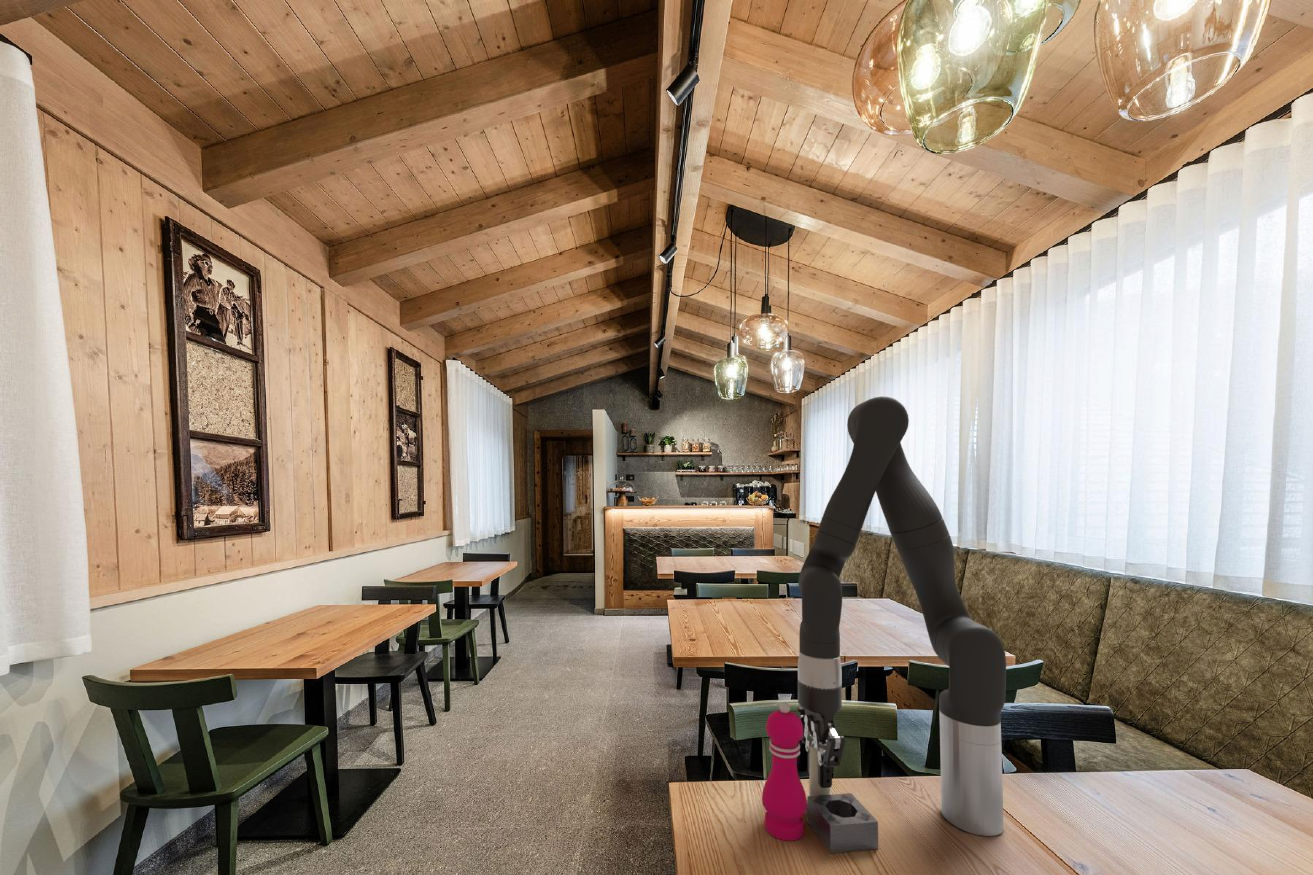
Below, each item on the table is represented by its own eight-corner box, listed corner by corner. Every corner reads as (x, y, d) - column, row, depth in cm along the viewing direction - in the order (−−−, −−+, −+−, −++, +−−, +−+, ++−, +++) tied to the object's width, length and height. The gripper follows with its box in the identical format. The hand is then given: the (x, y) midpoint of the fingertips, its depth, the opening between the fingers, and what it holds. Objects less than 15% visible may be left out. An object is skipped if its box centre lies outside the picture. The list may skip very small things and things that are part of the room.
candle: (815, 799, 97) (815, 741, 98) (833, 808, 95) (833, 748, 96) (805, 807, 95) (805, 747, 96) (824, 816, 92) (824, 754, 93)
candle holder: (851, 817, 92) (851, 792, 93) (878, 848, 84) (877, 821, 85) (807, 821, 91) (807, 796, 91) (830, 853, 83) (830, 825, 83)
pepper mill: (808, 846, 85) (808, 713, 86) (761, 839, 86) (762, 708, 88) (805, 818, 92) (805, 696, 93) (761, 812, 93) (762, 692, 95)
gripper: (860, 693, 91) (861, 801, 89) (820, 665, 104) (820, 758, 103) (818, 695, 89) (818, 805, 88) (783, 666, 103) (783, 761, 102)
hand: (819, 779), depth 95 cm, fingers closed on candle, 3 cm apart
